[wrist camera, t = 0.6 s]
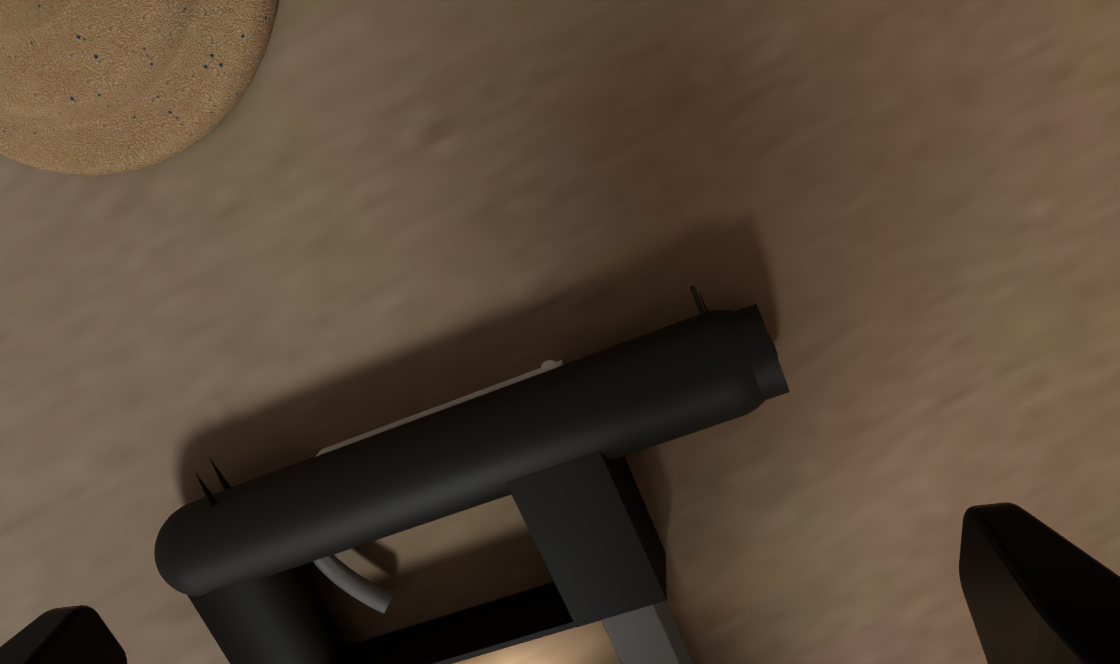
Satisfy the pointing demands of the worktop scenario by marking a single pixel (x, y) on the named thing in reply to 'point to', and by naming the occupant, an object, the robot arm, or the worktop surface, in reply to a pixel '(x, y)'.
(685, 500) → the worktop surface
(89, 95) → the candle holder
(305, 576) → the door handle
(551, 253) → the worktop surface
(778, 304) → the worktop surface
